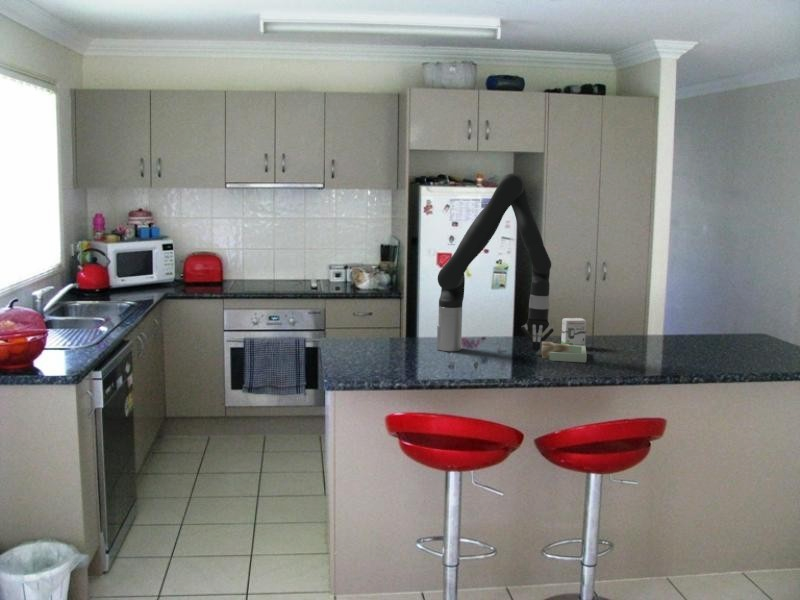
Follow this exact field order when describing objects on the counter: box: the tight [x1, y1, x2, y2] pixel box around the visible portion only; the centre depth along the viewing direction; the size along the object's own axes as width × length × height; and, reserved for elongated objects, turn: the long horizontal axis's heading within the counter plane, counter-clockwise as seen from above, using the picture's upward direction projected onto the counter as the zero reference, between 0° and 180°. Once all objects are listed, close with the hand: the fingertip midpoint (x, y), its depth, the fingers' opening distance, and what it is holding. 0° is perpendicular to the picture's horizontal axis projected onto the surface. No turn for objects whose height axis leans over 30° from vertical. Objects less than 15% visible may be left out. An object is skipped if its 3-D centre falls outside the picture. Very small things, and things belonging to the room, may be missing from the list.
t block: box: [541, 341, 569, 359], centre depth 326 cm, size 10×10×4 cm
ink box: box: [560, 317, 587, 347], centre depth 342 cm, size 9×5×12 cm, turn 100°
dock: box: [549, 345, 588, 363], centre depth 326 cm, size 14×16×3 cm
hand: (536, 351), depth 328 cm, fingers closed
